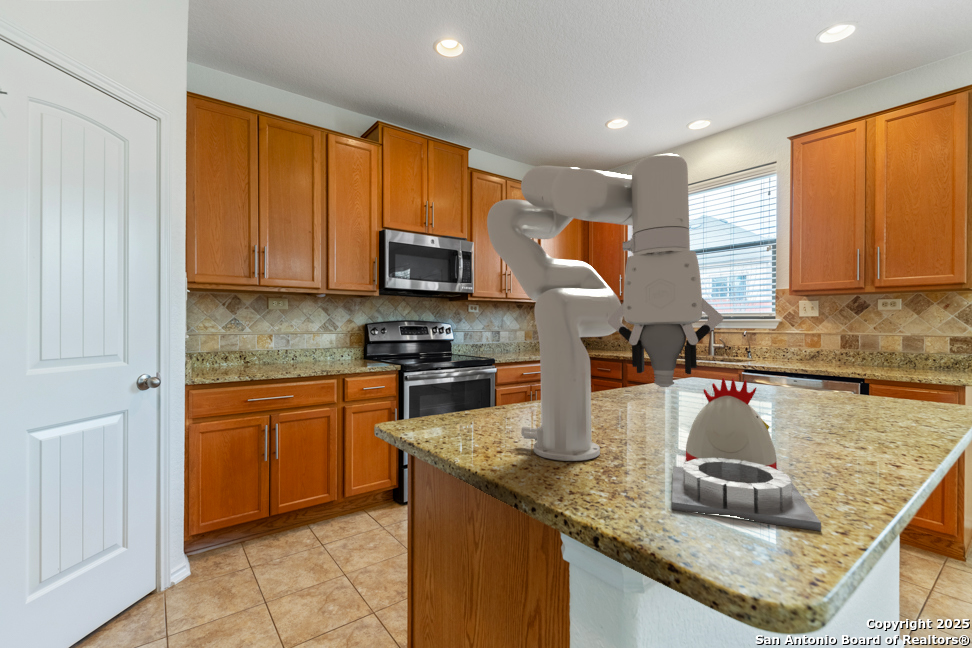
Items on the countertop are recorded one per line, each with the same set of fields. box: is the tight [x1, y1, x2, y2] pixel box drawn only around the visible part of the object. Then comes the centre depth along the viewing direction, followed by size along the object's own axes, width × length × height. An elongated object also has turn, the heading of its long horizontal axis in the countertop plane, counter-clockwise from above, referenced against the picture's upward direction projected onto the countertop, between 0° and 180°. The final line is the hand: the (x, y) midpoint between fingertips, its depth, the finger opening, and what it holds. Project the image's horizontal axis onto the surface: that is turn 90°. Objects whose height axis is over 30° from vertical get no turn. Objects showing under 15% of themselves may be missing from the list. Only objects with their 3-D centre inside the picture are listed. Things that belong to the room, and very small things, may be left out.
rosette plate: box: [671, 458, 822, 532], centre depth 61 cm, size 16×16×4 cm
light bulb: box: [641, 324, 687, 388], centre depth 62 cm, size 6×6×10 cm
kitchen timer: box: [685, 377, 778, 470], centre depth 77 cm, size 14×14×15 cm
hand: (664, 371), depth 62 cm, fingers closed on light bulb, 5 cm apart
